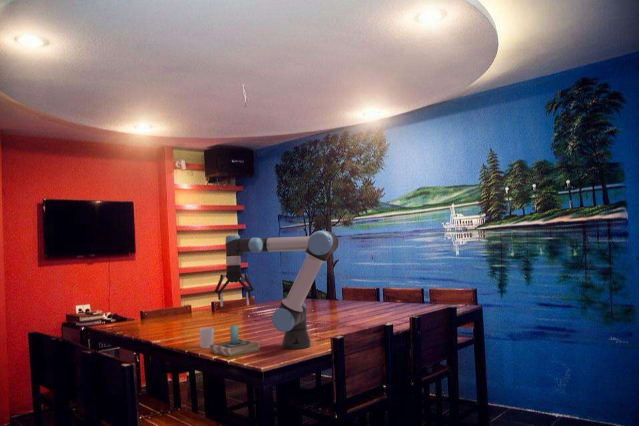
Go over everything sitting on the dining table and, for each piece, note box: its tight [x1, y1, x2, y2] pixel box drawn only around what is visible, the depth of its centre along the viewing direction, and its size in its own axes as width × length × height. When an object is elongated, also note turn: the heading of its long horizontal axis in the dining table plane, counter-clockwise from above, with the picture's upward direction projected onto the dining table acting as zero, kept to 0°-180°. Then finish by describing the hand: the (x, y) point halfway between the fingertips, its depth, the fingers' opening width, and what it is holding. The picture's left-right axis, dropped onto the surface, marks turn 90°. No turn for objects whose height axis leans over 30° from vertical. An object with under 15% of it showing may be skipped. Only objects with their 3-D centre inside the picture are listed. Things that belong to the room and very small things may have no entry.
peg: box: [229, 324, 239, 345], centre depth 241 cm, size 4×4×12 cm
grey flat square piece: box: [209, 338, 261, 358], centre depth 240 cm, size 18×18×4 cm
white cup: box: [198, 326, 215, 349], centre depth 255 cm, size 8×8×10 cm
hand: (234, 305), depth 243 cm, fingers open, 13 cm apart
